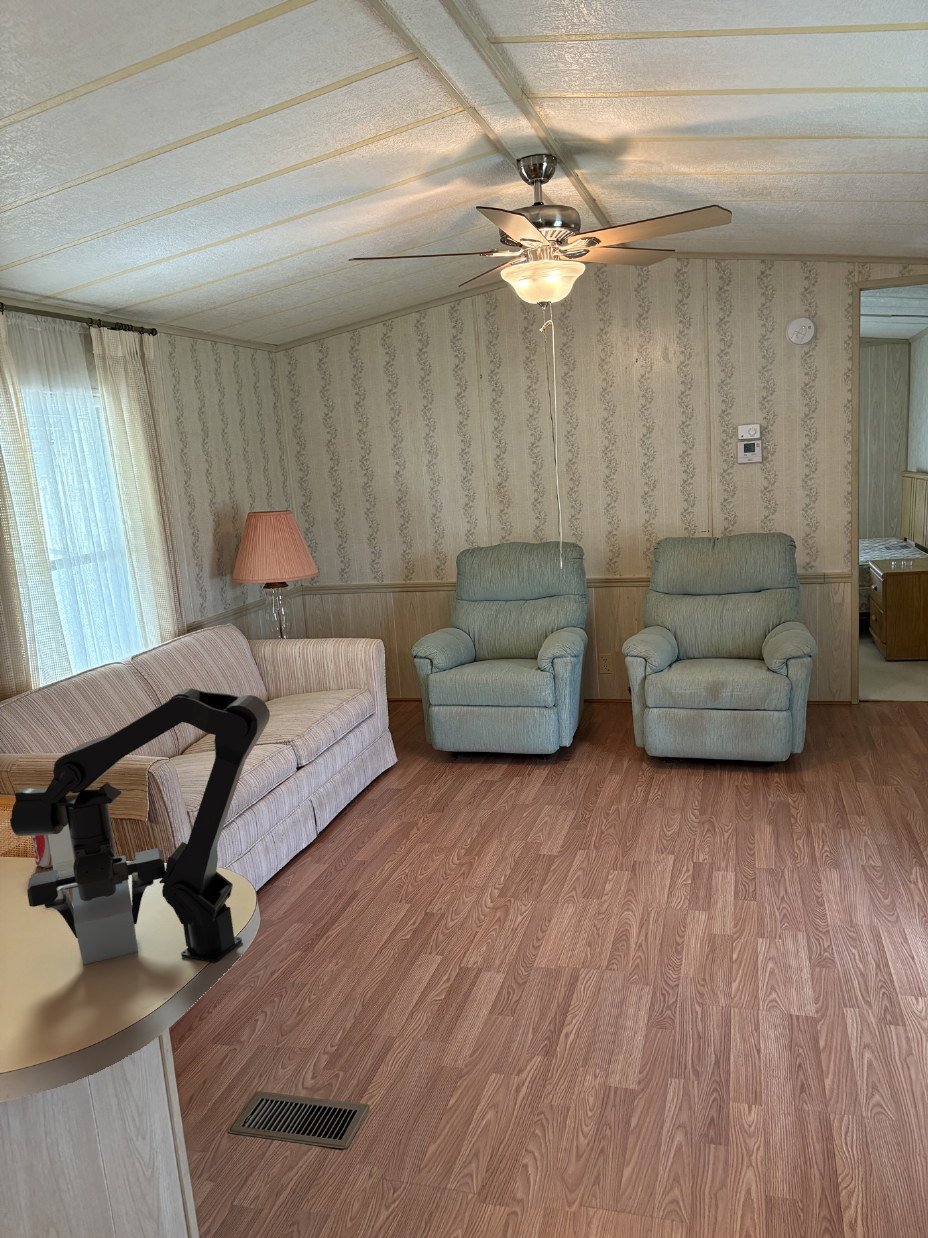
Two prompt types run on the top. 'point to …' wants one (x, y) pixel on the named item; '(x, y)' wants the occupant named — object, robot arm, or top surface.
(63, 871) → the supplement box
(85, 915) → the pale grey box
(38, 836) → the beverage can
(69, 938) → the top surface
